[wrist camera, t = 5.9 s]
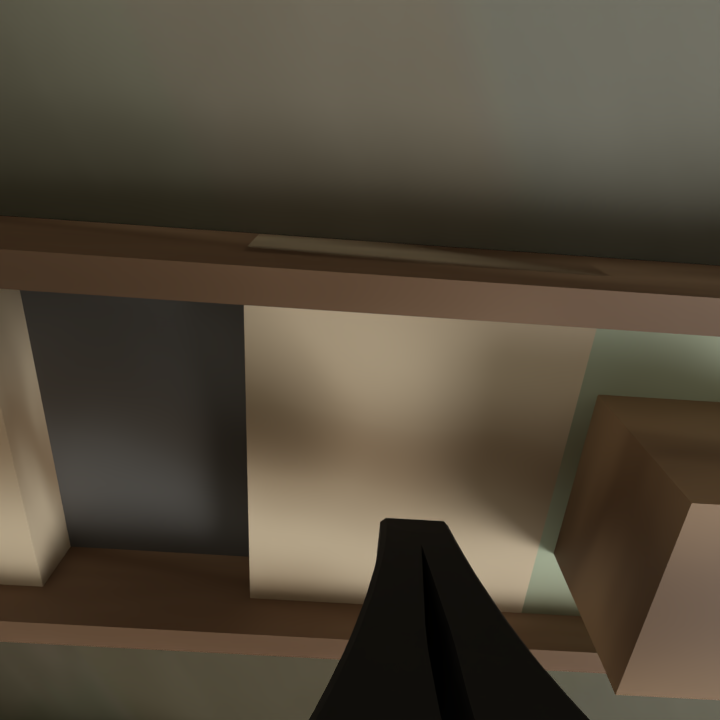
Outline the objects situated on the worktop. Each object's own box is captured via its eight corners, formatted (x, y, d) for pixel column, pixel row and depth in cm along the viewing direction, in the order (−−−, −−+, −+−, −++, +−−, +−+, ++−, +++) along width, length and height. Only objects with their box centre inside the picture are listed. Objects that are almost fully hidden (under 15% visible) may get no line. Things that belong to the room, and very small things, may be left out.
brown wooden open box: (734, 593, 18) (843, 731, 14) (-167, 542, 17) (-330, 671, 13) (886, 277, 14) (1112, 344, 9) (-317, 193, 13) (-633, 225, 9)
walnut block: (730, 563, 15) (849, 706, 11) (553, 553, 15) (615, 694, 11) (802, 407, 13) (975, 519, 9) (597, 394, 13) (691, 503, 9)
